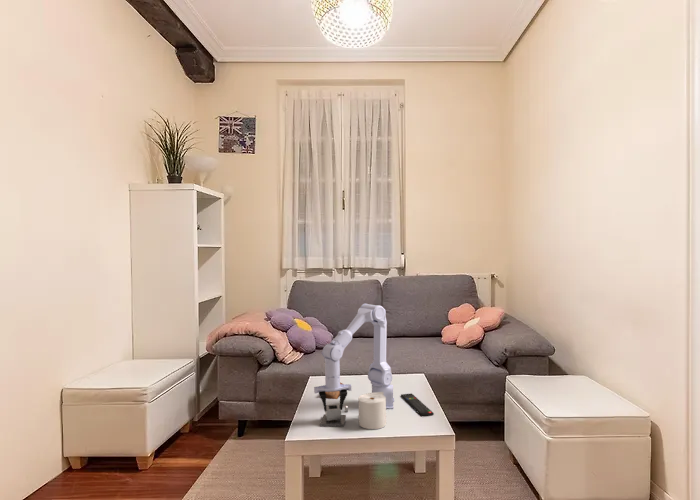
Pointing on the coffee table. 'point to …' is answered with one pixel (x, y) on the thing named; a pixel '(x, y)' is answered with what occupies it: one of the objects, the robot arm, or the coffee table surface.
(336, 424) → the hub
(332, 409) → the grey stepped block
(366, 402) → the toilet tissue
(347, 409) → the stand rod
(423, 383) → the coffee table surface
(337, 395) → the sunglasses case
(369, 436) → the coffee table surface
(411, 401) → the remote control
